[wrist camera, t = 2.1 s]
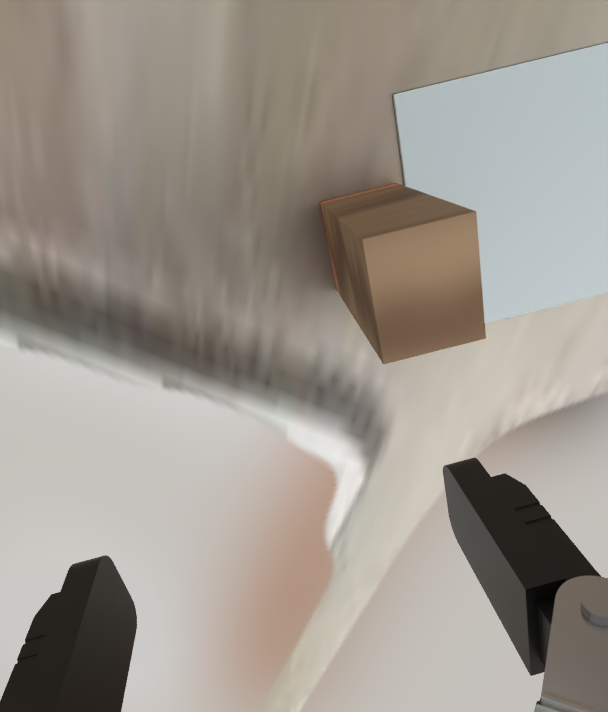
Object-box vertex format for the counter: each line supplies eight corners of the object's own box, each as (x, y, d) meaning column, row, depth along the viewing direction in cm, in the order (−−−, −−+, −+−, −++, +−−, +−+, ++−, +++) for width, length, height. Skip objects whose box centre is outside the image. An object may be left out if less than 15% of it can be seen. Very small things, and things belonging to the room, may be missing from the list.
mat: (392, 94, 31) (394, 94, 31) (618, 40, 31) (621, 39, 31) (424, 337, 38) (425, 338, 37) (609, 290, 38) (612, 291, 38)
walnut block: (319, 201, 33) (362, 239, 22) (396, 182, 33) (476, 211, 22) (337, 290, 35) (383, 364, 25) (408, 273, 36) (485, 338, 25)
